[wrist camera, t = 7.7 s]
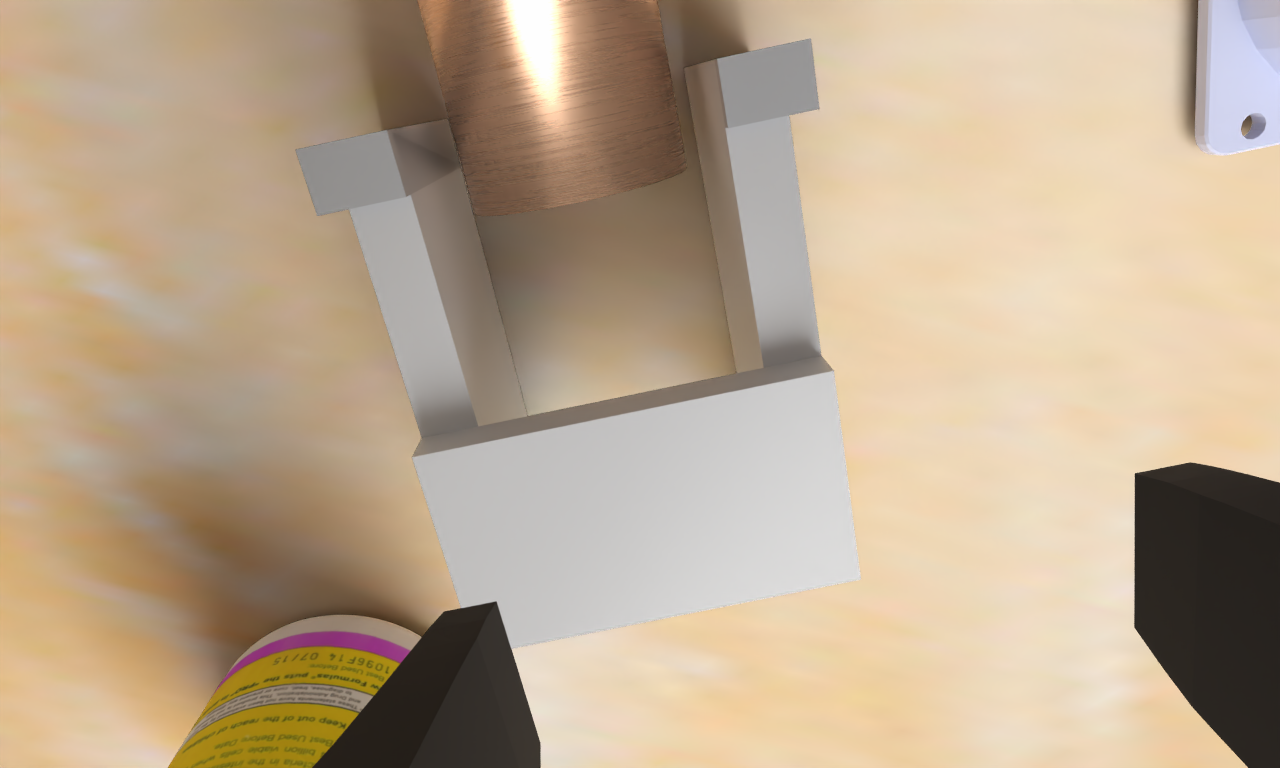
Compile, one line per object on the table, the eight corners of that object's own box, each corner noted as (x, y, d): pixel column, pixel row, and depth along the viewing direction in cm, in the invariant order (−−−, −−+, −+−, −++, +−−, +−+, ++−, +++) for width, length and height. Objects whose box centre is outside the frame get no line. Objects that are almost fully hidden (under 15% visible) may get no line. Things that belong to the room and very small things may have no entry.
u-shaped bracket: (750, 53, 17) (818, 36, 12) (807, 445, 20) (882, 575, 15) (382, 133, 17) (283, 152, 12) (493, 509, 20) (455, 659, 15)
